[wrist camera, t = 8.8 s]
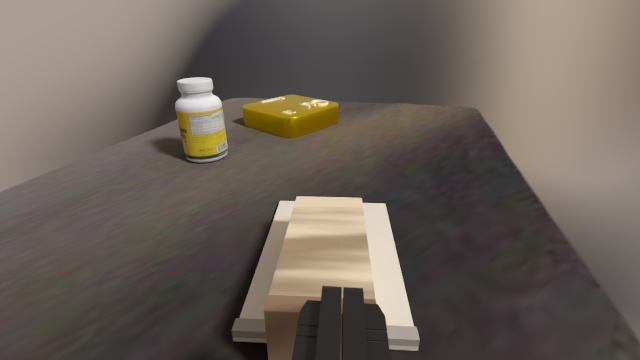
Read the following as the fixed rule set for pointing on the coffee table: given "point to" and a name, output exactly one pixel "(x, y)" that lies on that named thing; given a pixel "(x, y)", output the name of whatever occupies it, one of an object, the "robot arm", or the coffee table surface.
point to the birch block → (316, 264)
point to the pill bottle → (201, 121)
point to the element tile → (290, 115)
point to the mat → (383, 273)
